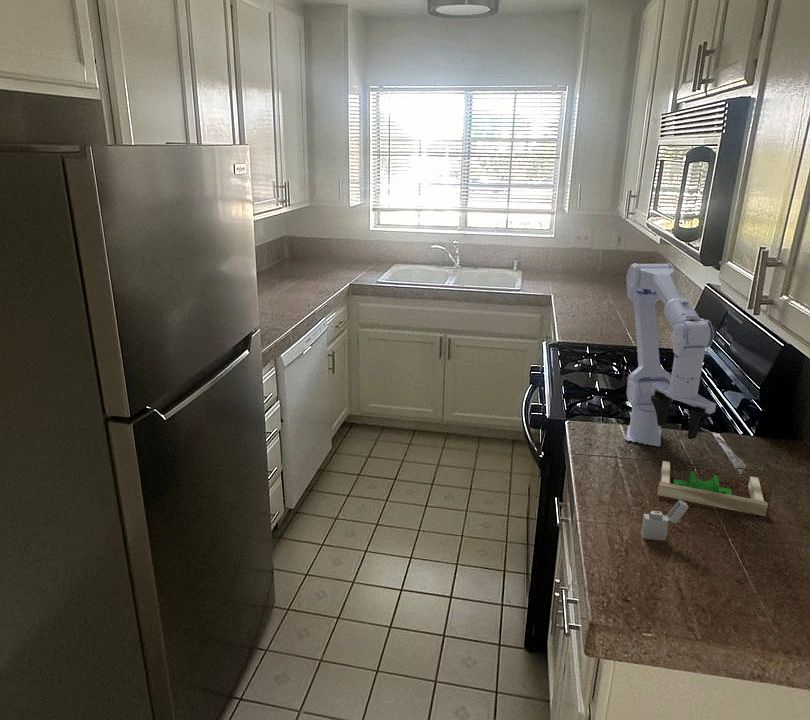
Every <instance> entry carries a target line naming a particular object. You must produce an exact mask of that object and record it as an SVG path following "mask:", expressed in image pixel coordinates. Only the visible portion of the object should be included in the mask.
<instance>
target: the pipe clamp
mask: <svg viewBox="0 0 810 720" xmlns="http://www.w3.org/2000/svg"><path fill="white" fill-rule="evenodd" d="M672 484H675V485H680V486H686V487H691V488H696V489H702V490H707V491H712V492H718V493H723V494H728V495H733V493H732V489H731V488H726V487H720V481H719V476H718V475H715V474H713V476H712V477H711V479H709V480H706V481H704V480H700V479H698V478H697V477H696V474H695V471H690V473H689V480H688V481H686V480H679V479H673V483H672Z"/></svg>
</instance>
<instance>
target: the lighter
mask: <svg viewBox="0 0 810 720" xmlns="http://www.w3.org/2000/svg"><path fill="white" fill-rule="evenodd" d="M688 509H689V506H688V503H687V502H685V501H684V500H679V499H678V501H677V502H676V503H675V504H674V505H673V507H672V508H671V510H669V512H668V513H667V515H664V514H663V512H662V511H660V510H659V511H656V510H652V511H651V512H649V513H644V514H643V517H642V525H641V529H640V535H641V538H642V539H643V540H656V541H666V538H667V535H668V534H667V532H668V526H669V521H670V522H671V523H673V524H677V523H678V521H679V520H680V519H681V518H682V517H683V515H684V514H685V513H686V512H687V510H688Z"/></svg>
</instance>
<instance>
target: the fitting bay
mask: <svg viewBox="0 0 810 720" xmlns="http://www.w3.org/2000/svg"><path fill="white" fill-rule="evenodd" d="M670 479H671V462H670V461H666V460H662V464H661V472H660V481H659V482H658V487H657V488H658V490H657V496H660V497H664V498H670V499H675V500H678V501H679V500H681V501H683V502H685V501H686V502H690V503H695V504H699V505H700V504H701V505H705V506H709V507H710V506H711V507H715V508H719V509H726V510H731V511H734V512H735V511H736V512H741V513H745V514H751V515H757V516H759V517H760V516H762V517H766V516H767V512H768V507H769V504H768V501H765V499H764V495H763V492H762V487H761V484H760V480H759V479H760V478H759V477H755V476H749V479H748V486H747V488H748V492H749V496H750V498H749V497H743V496H738V495H734V494H732V495H728V494H723V493H718V492H712V491H707V490H702V489H696V488H691V487H686V486H680V485H675V484H673V483H671V480H670Z"/></svg>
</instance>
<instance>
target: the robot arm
mask: <svg viewBox="0 0 810 720" xmlns="http://www.w3.org/2000/svg"><path fill="white" fill-rule="evenodd" d="M626 273H627V274H626V277H625V278H626V279H625V280H626V293H627V298H628V300H630V301H632V302H633V311H634V322H635V336H636V338H635V339H636V352H637V363H638V364H637V365H638V366H637V368H635V369H634V370H633V371H632V372H630V374H628V376H627V386H626V397H627V400H628V402H629V403H630V404H631V406H632V407H631V414H630V422H629V425H627V426H628V427H627V430H626V437H625V441H626V440H627V441H626V442H629V441H632V442H631V443H635V442H638V443H637V444H641V443H643V444H642V445H647V444H648V446H654V447H661V443H662V441H661V438H662V430H661V428H662V426H664V425H666V424H667V422H668V416H669V411H670V408H671V405H672V402H673V401H677V402H680V403H683V404H686V405H689V406H690V407H694V408H693V409H690V410H688V421H689V423H688V431H687V439H688V440H693V439H695V438H697V436H698V434H699V431H700V430H701V427H702V426H703V425H704V423H705V422H706V420H707V419H708V418H709V417H710V416H711V415H712V414H713V413H715V412H716V409H717V403H715V402H713V401H711V400H710V399H706V397H704V396H702V395H700V394H699V393H698V392H699V388H700V387H699V386H700V380H701V375H702V370H703V365H704V359H705V354H706V348H709V347H711V346H712V344H713V341H714V337H715V336H714V335H715V331H714V327H713V325H712V322H711V321H710V320H709V319H704V318H701V317H700V316H699V314H698V313H697V311H696V310H695V308H694V307H693V305H692V304H691V302H690V301H689V300H688V298H685V297H681V295H680V293H679V291H678V289H677V287H676V284H675V282H676V281H675V280H676V270H675V268H674V266H673V265H672V263H669V262H668V263H632V264H630V266H629V267H628V270H627V272H626ZM660 300H661V302H662V303H663V304H664V308H663V315H664V316H665V317H666V319H667V322H668V323H669V325H670V326H671V328H672V334H671V336H672V343H673V344H672V353H674V356H673V364H672V368H671V369H672V371H671V373H670V372H668V371H667V370H666V369H664V368H663V367H662V366H661V361H660V350H659V349H660V348H659V337H658V335H659V334H658V326H657V325H658V324H657V312H656V311H657V310H656V303H657V302H658V301H660Z"/></svg>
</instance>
